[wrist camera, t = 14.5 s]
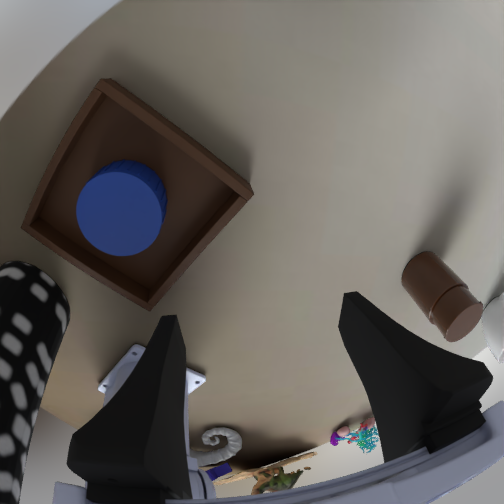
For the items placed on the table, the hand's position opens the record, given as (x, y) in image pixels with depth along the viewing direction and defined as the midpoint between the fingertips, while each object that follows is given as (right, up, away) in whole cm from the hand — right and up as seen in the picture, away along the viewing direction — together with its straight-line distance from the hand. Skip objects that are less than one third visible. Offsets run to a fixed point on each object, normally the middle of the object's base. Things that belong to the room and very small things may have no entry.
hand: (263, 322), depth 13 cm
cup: (+32, -4, +19) cm, 37 cm away
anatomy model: (+16, -21, +24) cm, 35 cm away
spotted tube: (-20, -1, +9) cm, 22 cm away
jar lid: (-8, +5, +4) cm, 10 cm away
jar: (+15, +1, +13) cm, 20 cm away
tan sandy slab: (+2, -37, +24) cm, 45 cm away
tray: (-8, +6, +6) cm, 12 cm away
